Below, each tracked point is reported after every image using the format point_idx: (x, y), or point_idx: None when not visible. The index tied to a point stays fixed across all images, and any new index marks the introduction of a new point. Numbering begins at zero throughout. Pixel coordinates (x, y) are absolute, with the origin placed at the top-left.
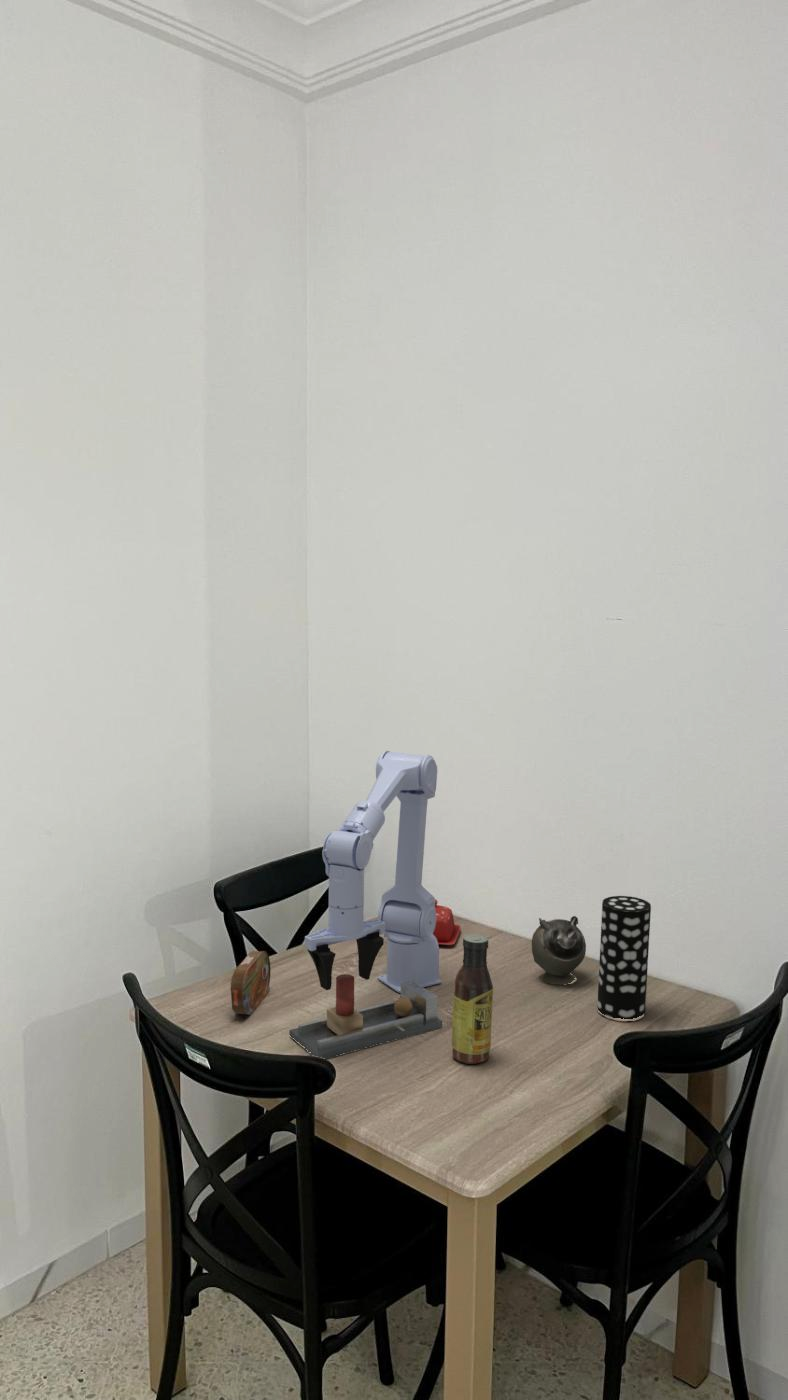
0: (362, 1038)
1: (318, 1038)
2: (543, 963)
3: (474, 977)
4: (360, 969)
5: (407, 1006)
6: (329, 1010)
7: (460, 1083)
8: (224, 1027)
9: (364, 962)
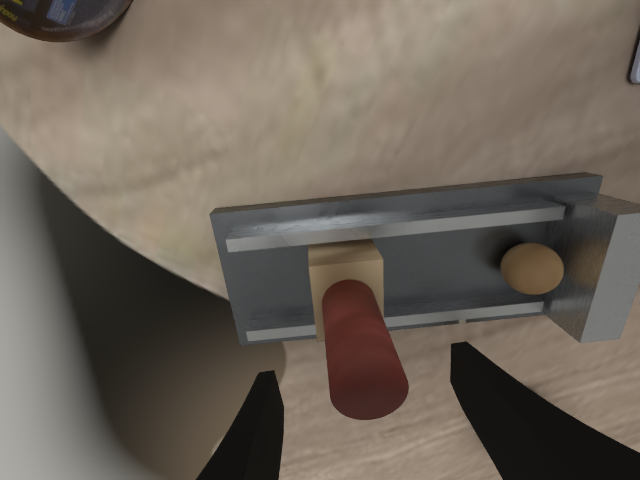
0: None
1: (266, 284)
2: None
3: None
4: (466, 375)
5: (532, 294)
6: (312, 276)
7: (431, 459)
8: (31, 64)
9: (493, 433)
